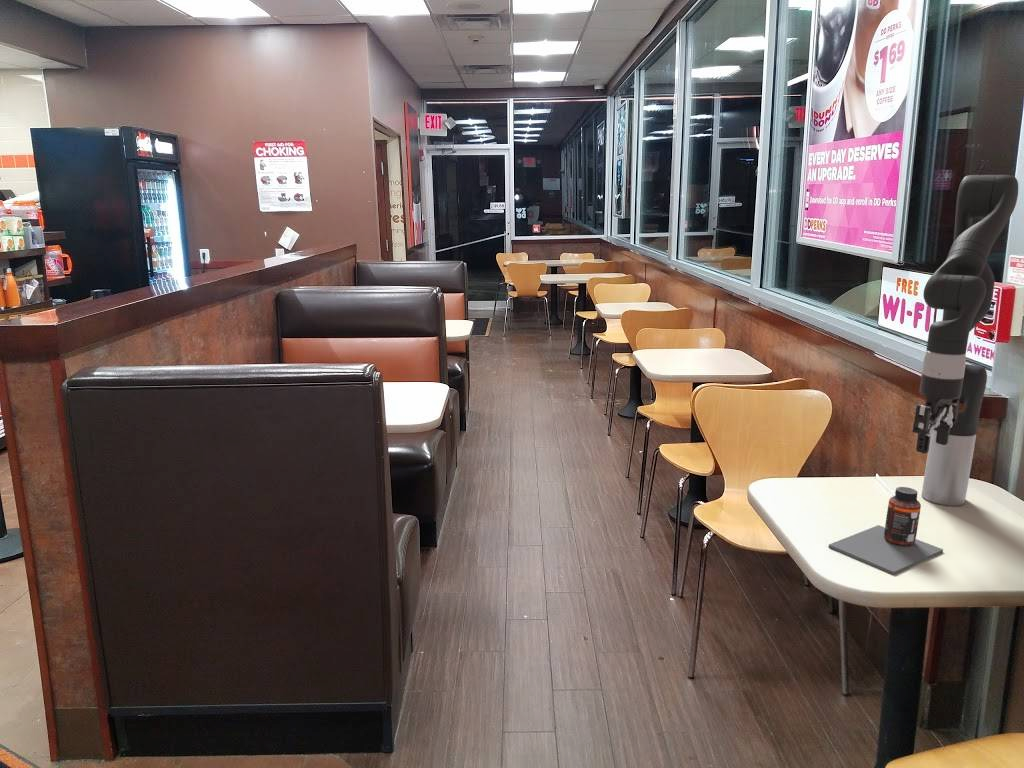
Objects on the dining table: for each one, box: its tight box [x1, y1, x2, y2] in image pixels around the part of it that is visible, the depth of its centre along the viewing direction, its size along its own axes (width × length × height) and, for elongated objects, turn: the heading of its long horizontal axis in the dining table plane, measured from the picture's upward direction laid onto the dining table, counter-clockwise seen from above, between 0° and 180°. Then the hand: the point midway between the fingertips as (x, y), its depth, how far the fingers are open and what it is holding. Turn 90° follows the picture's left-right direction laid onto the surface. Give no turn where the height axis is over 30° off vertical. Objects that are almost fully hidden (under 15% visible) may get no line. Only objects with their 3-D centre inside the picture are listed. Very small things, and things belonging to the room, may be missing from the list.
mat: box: [828, 524, 944, 576], centre depth 156 cm, size 18×14×1 cm
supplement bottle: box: [884, 486, 922, 546], centre depth 158 cm, size 6×6×11 cm
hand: (931, 448), depth 160 cm, fingers open, 8 cm apart
